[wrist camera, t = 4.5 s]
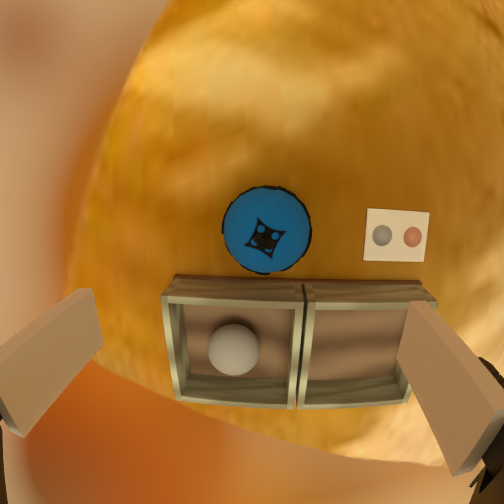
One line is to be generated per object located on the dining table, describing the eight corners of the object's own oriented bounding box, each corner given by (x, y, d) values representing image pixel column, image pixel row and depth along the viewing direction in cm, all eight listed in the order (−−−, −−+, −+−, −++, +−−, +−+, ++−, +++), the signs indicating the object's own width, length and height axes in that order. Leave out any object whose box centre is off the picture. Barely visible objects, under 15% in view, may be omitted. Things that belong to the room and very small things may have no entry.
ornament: (217, 239, 35) (194, 267, 26) (250, 169, 33) (238, 171, 23) (285, 271, 36) (287, 310, 26) (321, 205, 33) (337, 220, 24)
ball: (211, 313, 37) (200, 339, 31) (262, 316, 36) (258, 343, 31) (214, 354, 38) (204, 383, 33) (261, 357, 38) (257, 387, 32)
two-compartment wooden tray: (175, 274, 37) (158, 293, 31) (419, 280, 34) (439, 299, 29) (186, 373, 41) (174, 400, 35) (395, 377, 39) (408, 403, 33)
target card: (367, 208, 33) (368, 208, 32) (428, 212, 32) (430, 213, 32) (362, 259, 34) (363, 260, 34) (422, 261, 34) (424, 262, 33)
